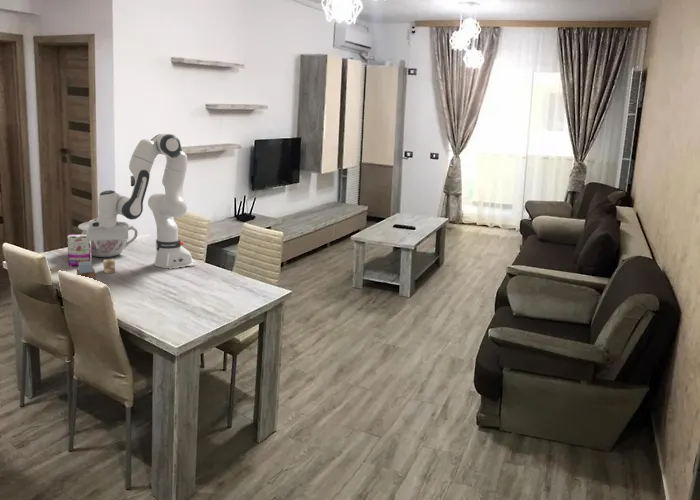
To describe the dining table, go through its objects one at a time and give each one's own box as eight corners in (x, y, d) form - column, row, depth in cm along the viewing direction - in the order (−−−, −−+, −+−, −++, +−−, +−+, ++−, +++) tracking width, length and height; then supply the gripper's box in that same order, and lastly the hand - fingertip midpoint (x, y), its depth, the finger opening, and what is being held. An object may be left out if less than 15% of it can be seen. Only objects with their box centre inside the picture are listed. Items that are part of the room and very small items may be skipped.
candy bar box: (92, 263, 331) (91, 234, 326) (90, 266, 326) (89, 236, 322) (69, 263, 328) (68, 234, 323) (68, 266, 323) (66, 236, 319)
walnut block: (93, 275, 313) (93, 267, 312) (95, 280, 307) (95, 272, 306) (76, 276, 310) (76, 268, 309) (78, 281, 303) (77, 273, 302)
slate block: (91, 268, 311) (91, 261, 310) (92, 272, 306) (92, 264, 305) (78, 269, 308) (78, 261, 307) (79, 273, 303) (79, 265, 302)
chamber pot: (67, 256, 339) (66, 220, 334) (101, 245, 365) (100, 211, 359) (110, 264, 332) (109, 227, 327) (141, 252, 357) (140, 218, 352)
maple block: (113, 269, 323) (113, 259, 322) (115, 272, 319) (114, 261, 318) (103, 270, 321) (103, 259, 320) (104, 273, 317) (104, 262, 315)
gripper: (127, 220, 321) (127, 246, 324) (85, 221, 311) (86, 247, 314) (129, 223, 315) (129, 249, 318) (86, 223, 306) (87, 250, 309)
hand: (107, 248), depth 316 cm, fingers open, 8 cm apart
